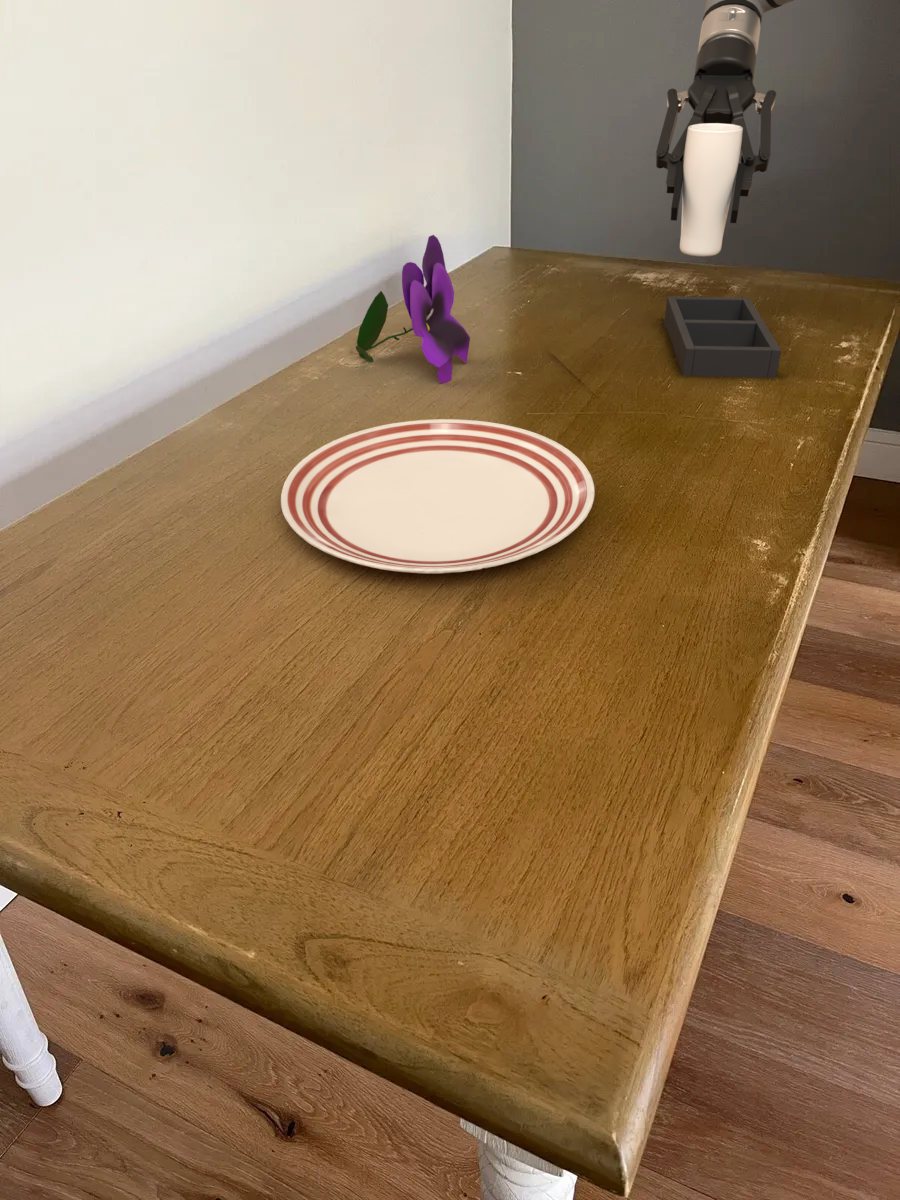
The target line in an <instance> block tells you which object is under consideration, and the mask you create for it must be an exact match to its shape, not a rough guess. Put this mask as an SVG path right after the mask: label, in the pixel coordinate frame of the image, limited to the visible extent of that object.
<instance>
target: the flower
mask: <svg viewBox="0 0 900 1200" xmlns="http://www.w3.org/2000/svg"><path fill="white" fill-rule="evenodd" d="M421 268H422V269H421ZM421 268H420V267H419V266H418V264H417V263H416V262H412V261H409V262H406V263H405V264H404V265H402V270H401V287H402V295H403V300H404V304H405V307H406V310H407V313H408V315H409V319H410V321H411V328H409V329H406V327H405V326H403V330H404V332H401V333H397V334H393V335H389V336H387V337H386V338H384V339H383V340H381V341H379V342H377V340H378V339H379V337H380V334H381V332H382V330H383V328H384V326H385V323H386V321H387V316H388V310H389V303H388V301H387V298H386V295H385V294H384V293H383V291H382V290H380V291H379V292H378V293H377V294H376V295H375V297H374V299H372V302H371V303H370V304H369V306H368V308H367V311H366V313H365V315H364V317H363V320H362V321H361V325H360V326H359V328H358V329H359V330H358V334H357V339H356V345H355V350H356V352H357V353H358V356H359V357H360V358H361V359H362V360H365V361H367V362H371V363H372V362H373V361H374V358H373V356H371V355H370V354H369V353H368V351H370V350H372V349H375V348H376V347H378V346H380V345H381V344H384V343H385V342H387V341H388V340H390V339H393V340H396V341H400V338H399V337H401V336H404V335H406V334H408V333H410V332H412V331H413V334H414V336H416V337H419V338H422V340H421V346H420V347H421V350H422V352H423V354H424V356H425V359H426V361H427V362H429V363H430V364H431V365H433V366H435V367H437V368H438V369H437V376H436V377H437V379H438V381H439V383H440V384H446V383H447V384H448V383H449V382H450V381H451V380H452V378H453V360H452V359H453V356H458V357H459V358H460V359H461V361H463V362H464V363H465V364H467V361H468V357H469V356H468V355H469V349H470V341H471V336H470V335H469V333H468V332H467V330H466V329H465V327H464V326H463V325H462V324H461V323H460V322H459V321H458V320H457V319H456V318H455V317H454V316H453V315H452V314H451V312H452V309H453V305H454V302H455V301H454V300H455V290H454V286H453V283H452V279H451V277H450V275H449V273H448V271H447V268H446V262H445V257H444V252H443V248H442V244H441V243H440V241H439V238H438V237H437V236H435V234H432V235H430V236H428V239H427V243H426V248H425V251H424V253H423V256H422V262H421ZM376 342H377V343H376Z"/></svg>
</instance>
